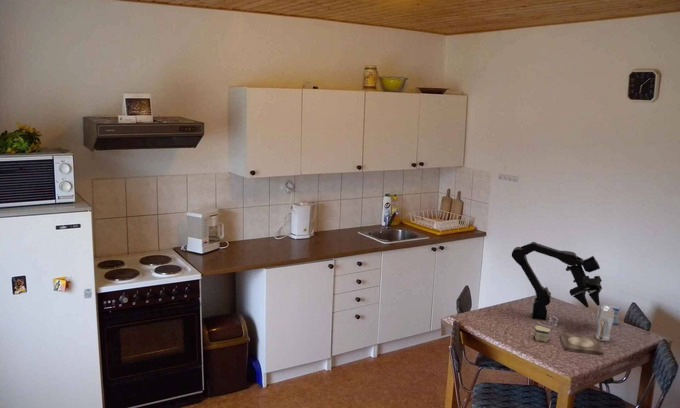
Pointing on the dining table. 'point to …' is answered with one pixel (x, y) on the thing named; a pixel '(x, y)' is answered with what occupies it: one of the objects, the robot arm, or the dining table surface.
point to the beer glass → (604, 322)
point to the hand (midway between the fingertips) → (593, 306)
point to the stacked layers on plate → (542, 333)
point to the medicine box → (616, 313)
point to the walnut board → (581, 344)
